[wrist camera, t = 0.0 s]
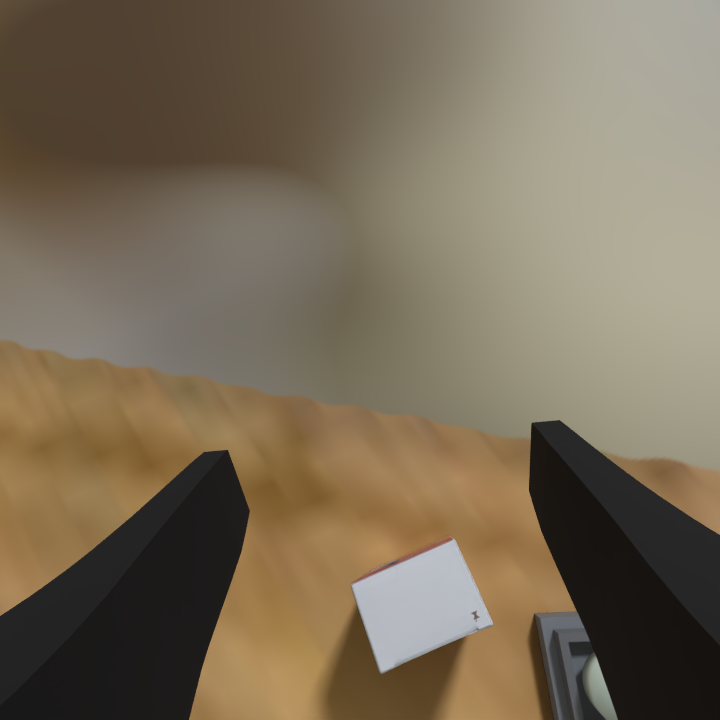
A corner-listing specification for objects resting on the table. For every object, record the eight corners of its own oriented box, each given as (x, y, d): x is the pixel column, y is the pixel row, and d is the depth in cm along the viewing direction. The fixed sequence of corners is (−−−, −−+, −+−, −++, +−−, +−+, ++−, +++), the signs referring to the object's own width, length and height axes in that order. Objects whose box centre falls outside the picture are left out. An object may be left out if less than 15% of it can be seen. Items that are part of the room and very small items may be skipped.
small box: (449, 534, 39) (457, 535, 30) (478, 601, 37) (497, 625, 27) (367, 570, 39) (347, 582, 29) (391, 638, 37) (379, 676, 27)
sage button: (658, 721, 30) (672, 733, 28) (591, 722, 30) (600, 734, 29) (639, 646, 32) (651, 652, 30) (575, 648, 32) (584, 655, 30)
